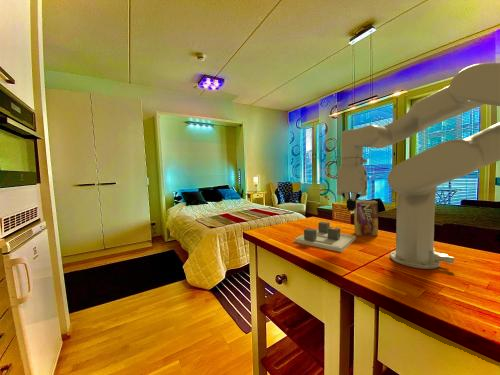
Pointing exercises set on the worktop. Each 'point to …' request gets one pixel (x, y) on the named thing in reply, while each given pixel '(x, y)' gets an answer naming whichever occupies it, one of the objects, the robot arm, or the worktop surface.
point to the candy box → (366, 218)
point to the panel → (328, 241)
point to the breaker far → (323, 227)
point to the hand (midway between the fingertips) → (351, 210)
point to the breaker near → (310, 234)
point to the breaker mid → (334, 233)
